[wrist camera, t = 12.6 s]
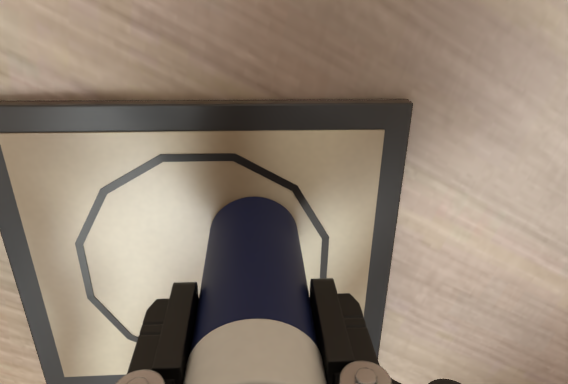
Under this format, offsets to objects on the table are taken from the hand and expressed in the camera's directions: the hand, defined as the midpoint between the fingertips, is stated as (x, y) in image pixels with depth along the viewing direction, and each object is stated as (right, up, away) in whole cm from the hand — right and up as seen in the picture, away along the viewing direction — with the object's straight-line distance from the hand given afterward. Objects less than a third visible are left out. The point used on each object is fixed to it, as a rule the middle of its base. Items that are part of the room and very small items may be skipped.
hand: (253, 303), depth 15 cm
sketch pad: (-2, +1, +5) cm, 6 cm away
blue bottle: (0, +2, +4) cm, 4 cm away
